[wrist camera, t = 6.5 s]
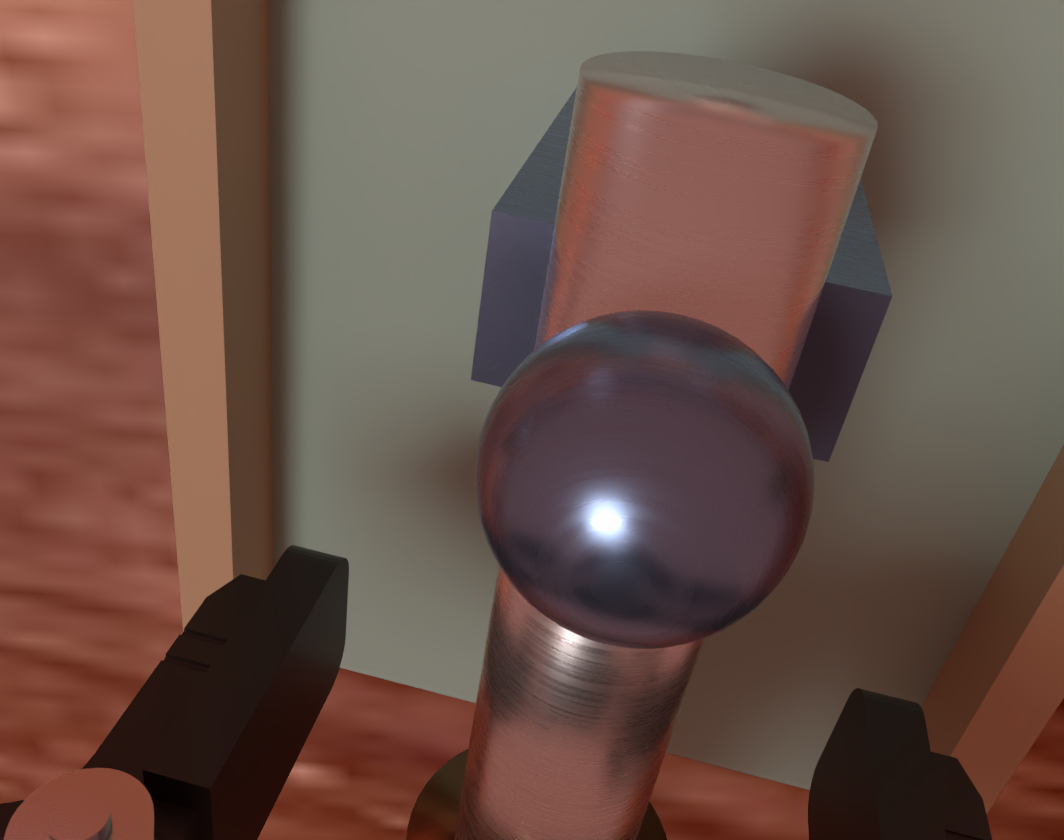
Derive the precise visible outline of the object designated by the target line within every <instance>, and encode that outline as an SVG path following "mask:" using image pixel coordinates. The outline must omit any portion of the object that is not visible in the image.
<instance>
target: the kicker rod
mask: <svg viewBox="0 0 1064 840" xmlns="http://www.w3.org/2000/svg"><path fill="white" fill-rule="evenodd" d="M877 128H878V124H877V121H876V119H875V118H874V116H873V115H872V114H871V113H870V112H869V111H867V110H866V109H865V108H863V107H862V106H861V105H859V104H857V103H856V102H854V101H852V100H851V99H849V98H847V97H845V96H843V95H841V94H838V93H836V92H834V91H832V90H829V89H827V88H824V87H822V86H819V85H816V84H814V83H811V82H808V81H805V80H802V79H799V78H796V77H793V76H789V75H786V74H783V73H779V72H775V71H772V70H768V69H764V68H760V67H756V66H751V65H747V64H742V63H738V62H733V61H727V60H722V59H716V58H710V57H703V56H697V55H688V54H680V53H669V52H652V51H626V52H613V53H607V54H601V55H597V56H594V57H591V58H589V59H587V60H586V61H584V62H583V63H582V65H581V67H580V71H579V77H578V83H577V87H576V89H575V90H574V92H573V93H572V95H571V96H570V98H569V99H568V101H567V102H566V103H565V105H564V106H563V108H562V109H561V111H560V112H559V114H558V115H557V117H556V118H555V120H554V121H553V122H552V124H551V125H550V127H549V128H548V130H547V131H546V133H545V134H544V136H543V137H542V138H541V140H540V141H539V143H538V144H537V146H536V147H535V149H534V150H533V152H532V153H531V154H530V156H529V157H528V159H527V160H526V162H525V163H524V165H523V166H522V168H521V169H520V171H519V172H518V173H517V175H516V176H515V178H514V179H513V181H512V182H511V184H510V185H509V187H508V188H507V189H506V191H505V192H504V194H503V195H502V197H501V198H500V200H499V201H498V203H497V204H496V206H495V207H494V208H493V210H492V213H491V221H490V229H489V237H488V245H487V253H486V261H485V269H484V277H483V285H482V293H481V301H480V309H479V317H478V325H477V333H476V341H475V349H474V357H473V365H472V373H471V380H473V381H477V382H481V383H486V384H490V385H494V386H499V387H502V388H501V389H500V391H499V393H498V394H497V396H496V398H495V400H494V401H493V403H492V405H491V407H490V409H489V412H488V414H487V417H486V419H485V422H484V425H483V428H482V431H481V434H480V438H479V443H478V447H477V452H476V463H475V480H474V483H475V493H476V502H477V510H478V515H479V519H480V523H481V526H482V530H483V532H484V535H485V537H486V540H487V543H488V545H489V547H490V550H491V552H492V555H493V556H494V558H495V560H496V562H497V563H498V572H497V578H496V584H495V590H494V596H493V602H492V608H491V614H490V620H489V626H488V633H487V639H486V645H485V651H484V657H483V663H482V669H481V675H480V681H479V687H478V694H477V700H476V706H475V712H474V718H473V724H472V730H471V736H470V742H469V749H467V750H465V751H463V752H462V753H460V754H458V755H457V756H455V757H454V758H452V759H451V760H450V761H448V762H447V763H446V764H445V765H443V766H442V767H441V768H440V769H439V770H438V771H437V772H436V773H435V774H434V775H433V777H432V778H431V779H430V780H429V781H428V783H427V784H426V785H425V787H424V789H423V790H422V792H421V793H420V795H419V797H418V799H417V801H416V803H415V806H414V808H413V810H412V813H411V817H410V820H409V824H408V829H407V837H406V840H667V838H666V834H665V832H664V829H663V827H662V824H661V822H660V819H659V817H658V816H657V814H656V812H655V810H654V808H653V806H652V805H651V803H650V802H649V800H650V797H651V794H652V791H653V788H654V785H655V783H656V780H657V777H658V774H659V771H660V768H661V765H662V762H663V759H664V756H665V753H666V750H667V747H668V744H669V741H670V738H671V735H672V732H673V729H674V727H675V724H676V721H677V718H678V715H679V712H680V709H681V706H682V703H683V700H684V697H685V694H686V691H687V688H688V685H689V682H690V679H691V676H692V674H693V671H694V668H695V665H696V662H697V659H698V656H699V653H700V650H701V647H702V644H703V641H704V638H707V637H709V636H712V635H714V634H716V633H718V632H721V631H723V630H724V629H726V628H728V627H729V626H731V625H733V624H734V623H736V622H738V621H739V620H741V619H742V618H744V617H746V616H747V615H748V614H749V613H751V612H752V611H753V610H754V609H756V608H757V607H758V606H759V605H760V604H761V603H762V602H763V601H764V600H765V599H766V598H767V597H768V596H769V595H770V594H771V592H772V591H773V590H774V589H775V588H776V587H777V586H778V585H779V584H780V582H781V581H782V579H783V578H784V576H785V575H786V574H787V572H788V571H789V569H790V567H791V565H792V564H793V562H794V560H795V558H796V556H797V554H798V552H799V550H800V548H801V546H802V544H803V541H804V538H805V534H806V531H807V527H808V524H809V520H810V517H811V513H812V507H813V498H814V483H815V479H814V461H813V459H816V460H821V461H825V462H829V460H830V457H831V455H832V452H833V450H834V447H835V444H836V442H837V439H838V437H839V434H840V431H841V429H842V426H843V424H844V421H845V418H846V416H847V413H848V411H849V408H850V405H851V403H852V400H853V398H854V395H855V392H856V390H857V387H858V385H859V382H860V379H861V377H862V374H863V372H864V369H865V366H866V364H867V361H868V359H869V356H870V353H871V351H872V348H873V346H874V343H875V340H876V338H877V335H878V333H879V330H880V327H881V325H882V322H883V320H884V317H885V314H886V312H887V309H888V307H889V304H890V301H891V299H892V293H891V289H890V285H889V281H888V278H887V274H886V270H885V267H884V263H883V259H882V256H881V252H880V248H879V244H878V241H877V237H876V233H875V230H874V226H873V222H872V219H871V215H870V211H869V207H868V204H867V200H866V196H865V193H864V189H863V185H862V182H861V176H862V173H863V170H864V167H865V164H866V161H867V158H868V155H869V152H870V149H871V146H872V143H873V140H874V137H875V134H876V131H877Z"/></svg>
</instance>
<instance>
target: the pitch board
mask: <svg viewBox="0 0 1064 840" xmlns="http://www.w3.org/2000/svg"><path fill="white" fill-rule="evenodd" d="M133 10H134V22H135V35H136V47H137V60H138V72H139V85H140V97H141V110H142V122H143V135H144V147H145V160H146V172H147V185H148V197H149V210H150V222H151V235H152V247H153V260H154V272H155V285H156V297H157V310H158V322H159V335H160V347H161V360H162V372H163V385H164V397H165V410H166V422H167V435H168V447H169V460H170V472H171V485H172V497H173V510H174V522H175V535H176V547H177V560H178V572H179V585H180V597H181V610H182V622H183V632H184V628H185V626H186V625H187V624H188V622H189V621H190V619H191V618H192V617H193V615H194V614H195V612H196V611H197V610H198V608H199V607H200V605H201V604H202V603H203V601H204V600H205V598H206V597H207V596H209V595H210V594H212V593H213V592H215V591H216V590H218V589H219V588H221V587H222V586H224V585H225V584H227V583H228V582H230V581H231V580H233V579H234V578H236V577H237V576H239V575H240V574H243V575H247V576H250V577H254V578H258V579H262V580H266V579H267V577H268V576H269V574H270V573H271V571H272V570H273V568H274V567H275V565H276V564H277V562H278V561H279V559H280V557H281V556H282V554H283V553H284V552H285V550H286V549H287V548H288V547H289V546H291V545H295V546H299V547H303V548H307V549H311V550H315V551H319V552H323V553H327V554H331V555H335V556H339V557H343V558H347V560H348V563H349V581H348V600H347V620H346V639H345V647H344V652H343V657H342V661H341V664H340V668H344V669H348V670H351V671H355V672H359V673H363V674H367V675H370V676H374V677H378V678H382V679H386V680H390V681H393V682H397V683H401V684H405V685H409V686H413V687H416V688H420V689H424V690H428V691H432V692H436V693H439V694H443V695H447V696H451V697H455V698H459V699H462V700H466V701H470V702H474V703H476V700H477V694H478V687H479V681H480V675H481V669H482V663H483V657H484V651H485V645H486V639H487V633H488V626H489V620H490V614H491V608H492V602H493V596H494V590H495V584H496V578H497V572H498V563H497V562H496V560H495V558H494V556H493V555H492V552H491V550H490V547H489V545H488V543H487V540H486V537H485V535H484V532H483V530H482V526H481V523H480V519H479V515H478V510H477V502H476V493H475V483H474V480H475V463H476V452H477V447H478V443H479V438H480V434H481V431H482V428H483V425H484V422H485V419H486V417H487V414H488V412H489V409H490V407H491V405H492V403H493V401H494V400H495V398H496V396H497V394H498V393H499V391H500V389H501V388H502V387H499V386H494V385H490V384H486V383H481V382H477V381H473V380H471V373H472V365H473V357H474V349H475V341H476V333H477V325H478V317H479V309H480V301H481V293H482V285H483V277H484V269H485V261H486V253H487V245H488V237H489V229H490V221H491V213H492V210H493V208H494V207H495V206H496V204H497V203H498V201H499V200H500V198H501V197H502V195H503V194H504V192H505V191H506V189H507V188H508V187H509V185H510V184H511V182H512V181H513V179H514V178H515V176H516V175H517V173H518V172H519V171H520V169H521V168H522V166H523V165H524V163H525V162H526V160H527V159H528V157H529V156H530V154H531V153H532V152H533V150H534V149H535V147H536V146H537V144H538V143H539V141H540V140H541V138H542V137H543V136H544V134H545V133H546V131H547V130H548V128H549V127H550V125H551V124H552V122H553V121H554V120H555V118H556V117H557V115H558V114H559V112H560V111H561V109H562V108H563V106H564V105H565V103H566V102H567V101H568V99H569V98H570V96H571V95H572V93H573V92H574V90H575V89H576V87H577V83H578V77H579V71H580V67H581V65H582V63H583V62H584V61H586V60H587V59H589V58H591V57H594V56H597V55H601V54H607V53H613V52H626V51H652V52H669V53H680V54H688V55H697V56H703V57H710V58H716V59H722V60H727V61H733V62H738V63H742V64H747V65H751V66H756V67H760V68H764V69H768V70H772V71H775V72H779V73H783V74H786V75H789V76H793V77H796V78H799V79H802V80H805V81H808V82H811V83H814V84H816V85H819V86H822V87H824V88H827V89H829V90H832V91H834V92H836V93H838V94H841V95H843V96H845V97H847V98H849V99H851V100H852V101H854V102H856V103H857V104H859V105H861V106H862V107H863V108H865V109H866V110H867V111H869V112H870V113H871V114H872V115H873V116H874V118H875V119H876V121H877V124H878V128H877V131H876V134H875V137H874V140H873V143H872V146H871V149H870V152H869V155H868V158H867V161H866V164H865V167H864V170H863V173H862V176H861V182H862V185H863V189H864V193H865V196H866V200H867V204H868V207H869V211H870V215H871V219H872V222H873V226H874V230H875V233H876V237H877V241H878V244H879V248H880V252H881V256H882V259H883V263H884V267H885V270H886V274H887V278H888V281H889V285H890V289H891V293H892V299H891V301H890V304H889V307H888V309H887V312H886V314H885V317H884V320H883V322H882V325H881V327H880V330H879V333H878V335H877V338H876V340H875V343H874V346H873V348H872V351H871V353H870V356H869V359H868V361H867V364H866V366H865V369H864V372H863V374H862V377H861V379H860V382H859V385H858V387H857V390H856V392H855V395H854V398H853V400H852V403H851V405H850V408H849V411H848V413H847V416H846V418H845V421H844V424H843V426H842V429H841V431H840V434H839V437H838V439H837V442H836V444H835V447H834V450H833V452H832V455H831V457H830V460H829V462H825V461H821V460H816V459H813V461H814V479H815V483H814V498H813V507H812V513H811V517H810V520H809V524H808V527H807V531H806V534H805V538H804V541H803V544H802V546H801V548H800V550H799V552H798V554H797V556H796V558H795V560H794V562H793V564H792V565H791V567H790V569H789V571H788V572H787V574H786V575H785V576H784V578H783V579H782V581H781V582H780V584H779V585H778V586H777V587H776V588H775V589H774V590H773V591H772V592H771V594H770V595H769V596H768V597H767V598H766V599H765V600H764V601H763V602H762V603H761V604H760V605H759V606H758V607H757V608H756V609H754V610H753V611H752V612H751V613H749V614H748V615H747V616H746V617H744V618H742V619H741V620H739V621H738V622H736V623H734V624H733V625H731V626H729V627H728V628H726V629H724V630H723V631H721V632H718V633H716V634H714V635H712V636H709V637H707V638H704V641H703V644H702V647H701V650H700V653H699V656H698V659H697V662H696V665H695V668H694V671H693V674H692V676H691V679H690V682H689V685H688V688H687V691H686V694H685V697H684V700H683V703H682V706H681V709H680V712H679V715H678V718H677V721H676V724H675V727H674V729H673V732H672V735H671V738H670V741H669V744H668V747H667V750H666V753H669V754H673V755H677V756H681V757H685V758H688V759H692V760H696V761H700V762H704V763H708V764H711V765H715V766H719V767H723V768H727V769H731V770H734V771H738V772H742V773H746V774H750V775H754V776H757V777H761V778H765V779H769V780H773V781H777V782H780V783H784V784H788V785H792V786H796V787H800V788H803V789H807V790H810V787H811V782H812V778H813V774H814V771H815V768H816V765H817V763H818V760H819V758H820V756H821V754H822V752H823V750H824V748H825V746H826V744H827V741H828V739H829V737H830V735H831V733H832V731H833V729H834V727H835V725H836V723H837V721H838V718H839V716H840V714H841V712H842V710H843V708H844V706H845V704H846V702H847V700H848V698H849V696H850V694H851V693H852V691H853V690H854V689H856V688H860V689H864V690H868V691H872V692H876V693H880V694H884V695H888V696H892V697H896V698H900V699H904V700H908V701H912V702H915V703H918V704H919V705H920V706H921V707H922V710H923V712H924V716H925V722H926V727H927V733H928V738H929V744H930V749H931V752H935V753H939V754H943V755H947V756H950V757H954V758H957V759H958V760H959V762H960V764H961V765H962V767H963V768H964V770H965V772H966V773H967V775H968V776H969V778H970V779H971V781H972V783H973V784H974V786H975V787H976V789H977V791H978V792H979V794H980V795H981V797H982V799H983V802H984V806H985V811H986V815H987V813H988V812H989V810H990V809H991V807H992V806H993V804H994V803H995V801H996V800H997V798H998V797H999V795H1000V794H1001V792H1002V791H1003V789H1004V788H1005V786H1006V785H1007V783H1008V782H1009V780H1010V779H1011V777H1012V776H1013V774H1014V773H1015V771H1016V770H1017V768H1018V767H1019V765H1020V763H1021V762H1022V760H1023V759H1024V757H1025V756H1026V754H1027V753H1028V751H1029V750H1030V748H1031V747H1032V745H1033V744H1034V742H1035V741H1036V739H1037V738H1038V736H1039V735H1040V733H1041V732H1042V730H1043V729H1044V727H1045V726H1046V724H1047V723H1048V721H1049V720H1050V718H1051V717H1052V715H1053V714H1054V712H1055V711H1056V709H1057V707H1058V706H1059V704H1060V703H1061V701H1062V700H1063V698H1064V0H133Z"/></svg>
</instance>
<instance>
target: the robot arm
mask: <svg viewBox="0 0 1064 840" xmlns="http://www.w3.org/2000/svg"><path fill="white" fill-rule="evenodd" d="M348 581H349V563H348V560H347V558H343V557H339V556H335V555H331V554H327V553H323V552H319V551H315V550H311V549H307V548H303V547H299V546H295V545H291V546H289V547H288V548H287V549H286V550H285V552H284V553H283V554H282V556H281V557H280V559H279V561H278V562H277V564H276V565H275V567H274V568H273V570H272V571H271V573H270V574H269V576H268V577H267V579H266V580H262V579H258V578H254V577H250V576H247V575H243V574H240V575H239V576H237V577H236V578H234V579H233V580H231V581H230V582H228V583H227V584H225V585H224V586H222V587H221V588H219V589H218V590H216V591H215V592H213V593H212V594H210V595H209V596H207V597H206V598H205V600H204V601H203V603H202V604H201V605H200V607H199V608H198V610H197V611H196V612H195V614H194V615H193V617H192V618H191V619H190V621H189V622H188V624H187V625H186V626H185V628H184V632H183V634H182V635H179V636H178V638H177V639H176V640H175V642H174V643H173V645H172V646H171V647H170V649H169V650H168V652H167V653H166V657H165V659H164V661H162V660H161V662H160V663H159V664H158V666H157V667H156V669H155V670H154V671H153V673H152V674H151V676H150V677H149V678H148V680H147V681H146V683H145V684H144V685H143V687H142V688H141V690H140V691H139V692H138V694H137V695H136V697H135V698H134V699H133V701H132V702H131V704H130V705H129V706H128V708H127V709H126V711H125V712H124V713H123V715H122V716H121V718H120V719H119V720H118V722H117V723H116V725H115V726H114V728H113V729H112V730H111V732H110V733H109V735H108V736H107V737H106V739H105V740H104V742H103V743H102V744H101V746H100V747H99V749H98V750H97V751H96V753H95V754H94V755H93V757H92V758H91V759H90V760H89V761H88V763H87V764H86V765H85V766H84V767H83V768H82V769H80V770H77V771H72V772H70V773H67V774H64V775H61V776H59V777H57V778H55V779H53V780H51V781H49V782H47V783H45V784H44V785H42V786H41V787H39V788H38V789H36V790H35V791H34V792H33V793H32V794H31V795H29V796H28V797H27V798H26V799H25V800H21V801H16V802H12V803H3V804H0V840H257V839H258V836H259V834H260V832H261V830H262V828H263V826H264V824H265V822H266V820H267V818H268V816H269V814H270V812H271V810H272V808H273V806H274V804H275V802H276V800H277V798H278V796H279V794H280V792H281V790H282V788H283V786H284V784H285V782H286V780H287V778H288V776H289V774H290V772H291V770H292V768H293V766H294V764H295V762H296V760H297V758H298V756H299V754H300V752H301V749H302V747H303V745H304V743H305V741H306V739H307V737H308V735H309V733H310V731H311V729H312V727H313V725H314V723H315V721H316V719H317V717H318V715H319V713H320V711H321V709H322V707H323V705H324V703H325V701H326V699H327V697H328V695H329V693H330V691H331V689H332V687H333V684H334V682H335V679H336V677H337V674H338V671H339V668H340V664H341V661H342V657H343V652H344V647H345V639H346V620H347V600H348ZM808 825H809V840H992V837H991V833H990V828H989V824H988V820H987V815H986V811H985V806H984V802H983V799H982V797H981V795H980V794H979V792H978V791H977V789H976V787H975V786H974V784H973V783H972V781H971V779H970V778H969V776H968V775H967V773H966V772H965V770H964V768H963V767H962V765H961V764H960V762H959V760H958V759H957V758H954V757H950V756H947V755H943V754H939V753H935V752H931V749H930V744H929V738H928V733H927V727H926V722H925V716H924V712H923V710H922V707H921V706H920V705H919V704H918V703H915V702H912V701H908V700H904V699H900V698H896V697H892V696H888V695H884V694H880V693H876V692H872V691H868V690H864V689H860V688H856V689H854V690H853V691H852V693H851V694H850V696H849V698H848V700H847V702H846V704H845V706H844V708H843V710H842V712H841V714H840V716H839V718H838V721H837V723H836V725H835V727H834V729H833V731H832V733H831V735H830V737H829V739H828V741H827V744H826V746H825V748H824V750H823V752H822V754H821V756H820V758H819V760H818V763H817V765H816V768H815V771H814V774H813V778H812V782H811V787H810V794H809V803H808Z"/></svg>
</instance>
